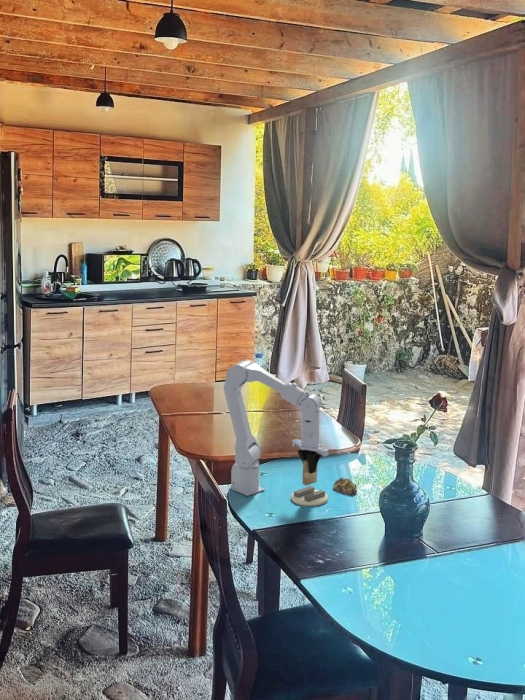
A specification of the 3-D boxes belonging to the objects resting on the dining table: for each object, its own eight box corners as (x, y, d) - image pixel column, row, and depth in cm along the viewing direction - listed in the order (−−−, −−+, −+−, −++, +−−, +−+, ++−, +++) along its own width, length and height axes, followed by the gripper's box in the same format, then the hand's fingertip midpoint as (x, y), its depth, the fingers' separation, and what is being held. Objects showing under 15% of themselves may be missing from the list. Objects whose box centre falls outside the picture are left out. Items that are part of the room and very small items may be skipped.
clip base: (283, 498, 240) (283, 491, 239) (309, 488, 247) (309, 482, 247) (309, 509, 231) (309, 501, 230) (335, 499, 239) (335, 492, 238)
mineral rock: (327, 480, 250) (347, 471, 252) (329, 490, 251) (350, 482, 254) (341, 492, 240) (362, 483, 242) (344, 503, 242) (364, 494, 244)
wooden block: (302, 484, 237) (302, 460, 236) (313, 480, 240) (313, 457, 239) (306, 485, 236) (306, 461, 234) (316, 481, 239) (317, 458, 238)
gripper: (285, 429, 237) (285, 468, 240) (318, 439, 227) (317, 480, 229) (301, 425, 242) (300, 463, 245) (333, 434, 231) (332, 475, 234)
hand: (309, 471), depth 237 cm, fingers closed on wooden block, 1 cm apart
